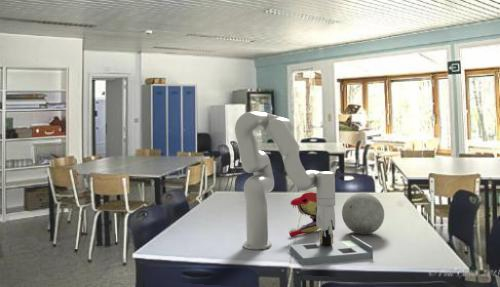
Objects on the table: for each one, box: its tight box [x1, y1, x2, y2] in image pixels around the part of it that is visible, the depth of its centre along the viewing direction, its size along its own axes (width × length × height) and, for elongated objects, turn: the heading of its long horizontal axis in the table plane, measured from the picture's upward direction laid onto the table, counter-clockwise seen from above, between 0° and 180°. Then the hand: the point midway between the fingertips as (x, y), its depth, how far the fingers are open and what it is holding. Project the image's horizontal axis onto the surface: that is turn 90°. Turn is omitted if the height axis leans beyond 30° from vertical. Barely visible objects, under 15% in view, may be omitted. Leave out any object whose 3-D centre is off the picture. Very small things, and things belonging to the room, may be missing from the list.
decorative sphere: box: [341, 192, 385, 235], centre depth 202 cm, size 20×20×20 cm
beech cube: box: [318, 230, 334, 244], centre depth 177 cm, size 5×5×5 cm
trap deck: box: [289, 235, 374, 265], centre depth 172 cm, size 18×29×4 cm, turn 101°
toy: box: [288, 191, 320, 238], centre depth 207 cm, size 7×27×20 cm, turn 127°
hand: (326, 245), depth 172 cm, fingers closed
